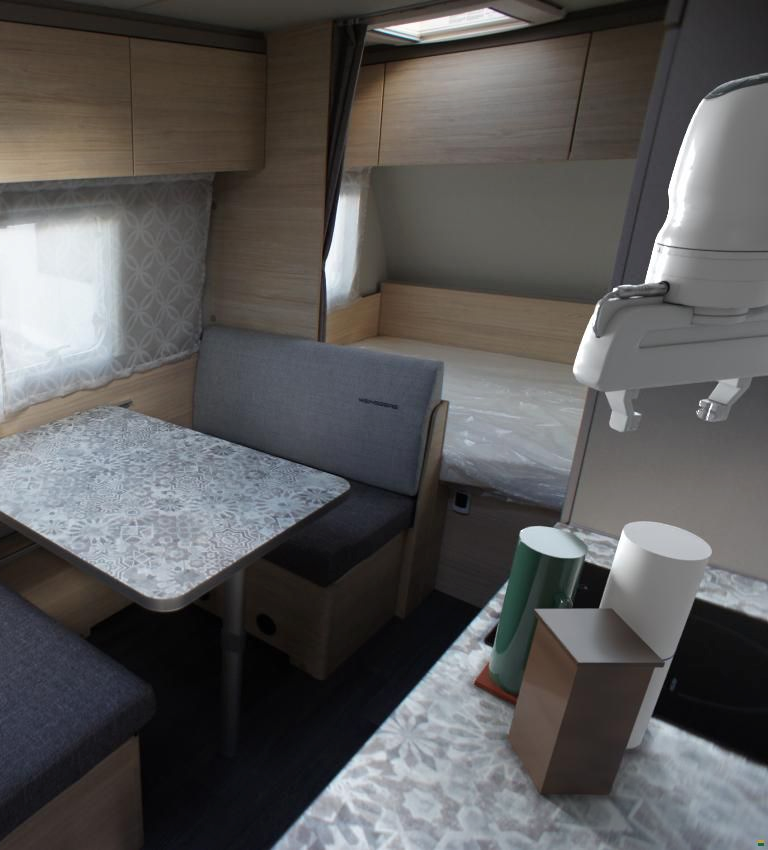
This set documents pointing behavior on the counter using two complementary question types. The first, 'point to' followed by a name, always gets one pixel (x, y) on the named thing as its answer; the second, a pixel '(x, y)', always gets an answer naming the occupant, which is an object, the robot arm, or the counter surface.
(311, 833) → the counter surface
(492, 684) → the pad
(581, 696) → the stand
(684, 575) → the cylindrical container
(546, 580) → the jug
